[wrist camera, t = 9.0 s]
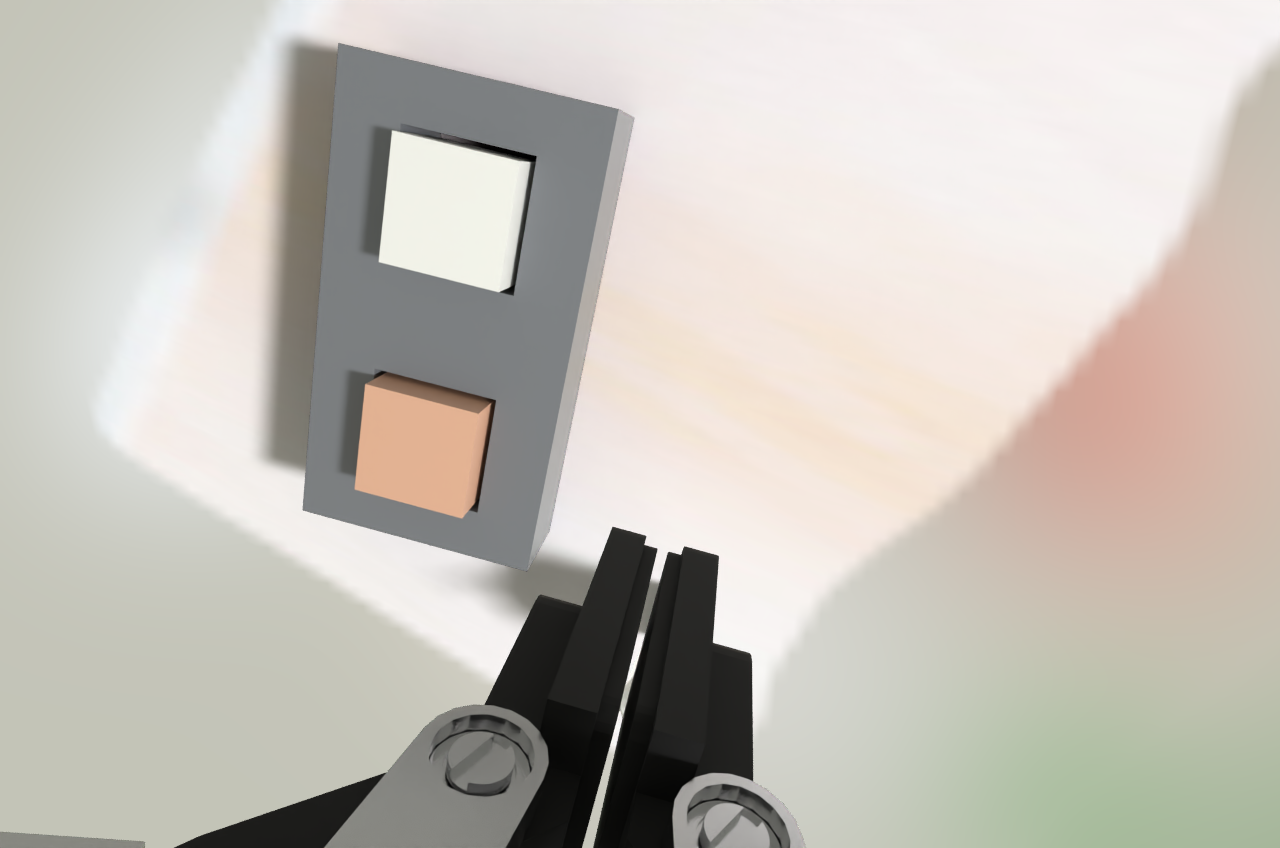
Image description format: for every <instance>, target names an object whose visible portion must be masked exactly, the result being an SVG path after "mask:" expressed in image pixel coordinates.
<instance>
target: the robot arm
mask: <svg viewBox="0 0 1280 848" xmlns="http://www.w3.org/2000/svg"><path fill="white" fill-rule="evenodd" d="M645 540H646V536H645V535H641V534H637V533H634V532H630V531H626V530H623V529H619V528H615V527H612V530H611V532H610V535H609V538H608V540H607V543H606V545H605V548H604V551H603V553H602V556H601V559H600V561H599V564H598V567H597V569H596V572H595V574H594V577H593V580H592V582H591V585H590V588H589V590H588V593H587V596H586V598H585V601H584V604H583V606H579V605H576V604H572V603H569V602H565V601H561V600H558V599H554V598H551V597H547V596H544V595H539V596H538V598H537V600H536V601H535V603H534V605H533V607H532V609H531V611H530V613H529V615H528V617H527V619H526V622H525V624H524V626H523V628H522V630H521V632H520V634H519V636H518V638H517V640H516V642H515V644H514V646H513V648H512V650H511V652H510V654H509V656H508V658H507V660H506V662H505V664H504V666H503V668H502V670H501V672H500V674H499V676H498V678H497V680H496V682H495V684H494V686H493V688H492V691H491V693H490V695H489V697H488V699H487V701H486V703H485V705H469V706H463V707H458V708H454V709H452V710H450V711H447V712H445V713H443V714H441V715H439V716H437V717H436V718H435V719H434V720H432V721H431V722H430V723H429V724H428V725H427V726H425V727H424V728H423V730H422V731H421V732H420V733H419V734H418V736H417V737H416V738H415V739H414V740H413V742H412V743H411V744H410V745H409V746H408V748H407V749H406V750H405V751H404V752H403V754H402V755H401V756H400V757H399V759H398V760H397V761H396V762H395V763H394V765H393V766H392V767H391V768H390V769H389V770H388V772H387V773H383V774H381V775H378V776H375V777H372V778H369V779H366V780H363V781H360V782H357V783H354V784H351V785H348V786H345V787H342V788H339V789H337V790H334V791H331V792H328V793H325V794H322V795H319V796H316V797H313V798H310V799H307V800H304V801H301V802H298V803H296V804H293V805H290V806H287V807H284V808H281V809H278V810H275V811H272V812H269V813H266V814H263V815H261V816H257V817H254V818H251V819H249V820H246V821H242V822H240V823H237V824H234V825H231V826H228V827H225V828H222V829H219V830H216V831H213V832H210V833H207V834H204V835H201V836H199V837H196V838H194V839H192V840H190V841H188V842H186V843H184V844H181V845H179V846H177V847H175V848H582V845H583V842H584V838H585V834H586V831H587V827H588V823H589V820H590V816H591V813H592V809H593V805H594V801H595V798H596V794H597V791H598V787H599V784H600V780H601V776H602V773H603V769H604V765H605V762H606V758H607V754H608V751H609V747H610V744H611V740H612V736H613V732H614V729H615V725H616V721H617V717H618V713H619V709H620V705H621V701H622V697H623V692H624V688H625V684H626V680H627V676H628V671H629V667H630V663H631V659H632V654H633V650H634V646H635V642H636V638H637V633H638V629H639V625H640V621H641V617H642V612H643V608H644V604H645V600H646V595H647V591H648V587H649V583H650V579H651V574H652V570H653V566H654V562H655V558H656V553H657V548H653V547H649V546H646V545H644V544H645ZM718 562H719V556H718V555H714V554H710V553H707V552H703V551H699V550H696V549H692V548H688V547H685V546H684V548H683V551H682V554H681V555H679V554H675V553H671V552H668V555H667V558H666V561H665V565H664V569H663V572H662V576H661V579H660V583H659V587H658V590H657V594H656V597H655V601H654V605H653V608H652V612H651V615H650V619H649V623H648V626H647V630H646V633H645V637H644V641H643V644H642V648H641V651H640V655H639V659H638V662H637V666H636V669H635V673H634V677H633V680H632V684H631V687H630V691H629V695H628V699H627V703H626V707H625V711H624V715H623V719H622V723H621V728H620V732H619V737H618V741H617V745H616V750H615V754H614V759H613V763H612V767H611V772H610V776H609V781H608V785H607V790H606V794H605V798H604V803H603V808H602V811H601V816H600V821H599V825H598V829H597V834H596V838H595V842H594V847H593V848H806V847H805V843H804V839H803V836H802V834H801V832H800V829H799V827H798V824H797V822H796V820H795V818H794V817H793V816H792V815H791V813H790V812H789V810H788V809H787V807H786V806H785V805H784V803H782V802H781V801H780V800H779V799H778V798H776V797H775V796H774V795H773V794H772V793H771V792H769V790H767V789H766V788H763V787H762V786H760V785H758V784H756V783H755V782H753V717H752V658H751V655H750V653H747V652H744V651H740V650H736V649H733V648H729V647H726V646H722V645H719V644H715V643H713V630H714V617H715V603H716V589H717V576H718ZM0 848H145V842H143V841H128V840H113V839H98V838H84V837H69V836H54V835H39V834H25V833H10V832H0Z"/></svg>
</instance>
